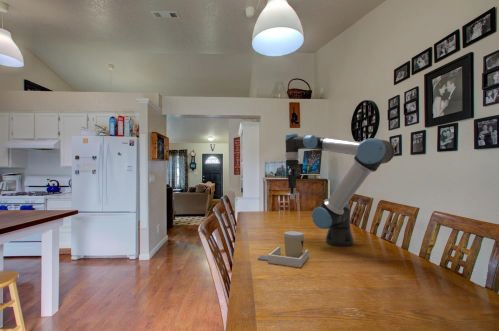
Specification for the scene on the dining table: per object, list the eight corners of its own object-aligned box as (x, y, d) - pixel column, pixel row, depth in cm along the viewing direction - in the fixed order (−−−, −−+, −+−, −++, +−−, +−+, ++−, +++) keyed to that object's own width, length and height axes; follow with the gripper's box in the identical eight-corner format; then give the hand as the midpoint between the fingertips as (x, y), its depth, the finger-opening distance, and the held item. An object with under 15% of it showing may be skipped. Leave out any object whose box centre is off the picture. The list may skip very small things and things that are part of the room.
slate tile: (271, 258, 130) (270, 256, 130) (267, 262, 126) (267, 259, 126) (261, 257, 132) (261, 255, 132) (257, 261, 127) (257, 258, 127)
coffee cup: (306, 261, 124) (306, 235, 124) (286, 262, 123) (286, 235, 123) (300, 255, 133) (300, 230, 134) (281, 256, 132) (281, 231, 133)
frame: (308, 257, 131) (308, 249, 131) (300, 267, 117) (300, 259, 117) (278, 253, 137) (278, 246, 137) (267, 262, 123) (267, 255, 123)
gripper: (289, 160, 171) (289, 197, 171) (282, 159, 159) (283, 199, 159) (300, 159, 168) (301, 198, 168) (295, 159, 156) (295, 200, 156)
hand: (292, 198), depth 163 cm, fingers closed
